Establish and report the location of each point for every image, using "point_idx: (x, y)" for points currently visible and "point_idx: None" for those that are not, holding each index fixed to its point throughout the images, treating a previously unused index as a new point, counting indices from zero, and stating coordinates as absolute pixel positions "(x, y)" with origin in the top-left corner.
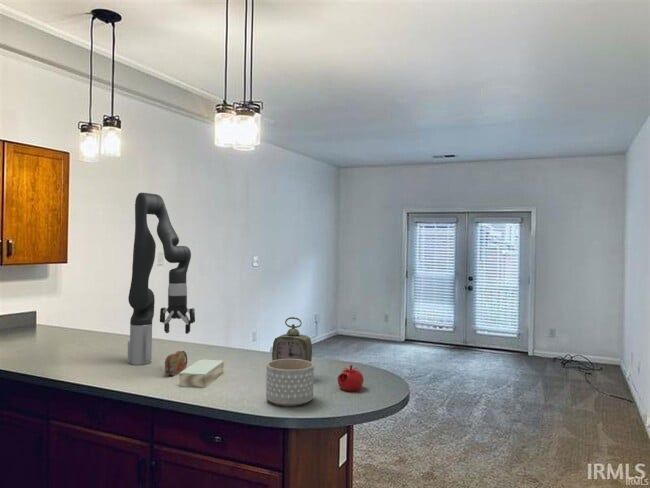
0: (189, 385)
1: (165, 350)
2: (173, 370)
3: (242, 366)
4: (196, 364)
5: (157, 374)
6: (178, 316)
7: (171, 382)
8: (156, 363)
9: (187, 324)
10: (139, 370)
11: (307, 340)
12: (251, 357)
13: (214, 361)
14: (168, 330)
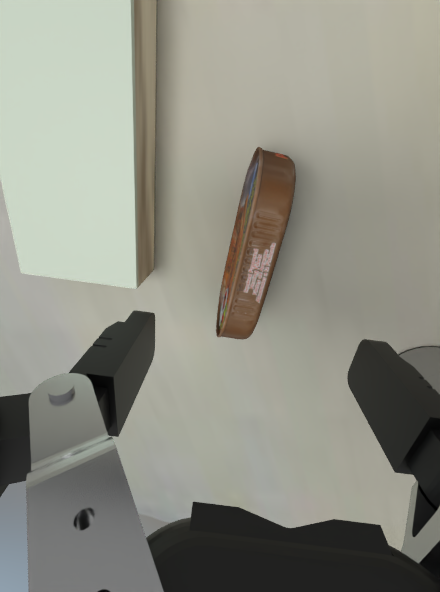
0: None
1: (346, 504)
2: (247, 197)
3: (33, 345)
4: (113, 178)
5: (322, 208)
6: (232, 589)
7: (221, 49)
8: None
9: (69, 374)
10: (413, 270)
11: None
12: None
13: (54, 254)
14: (361, 379)
